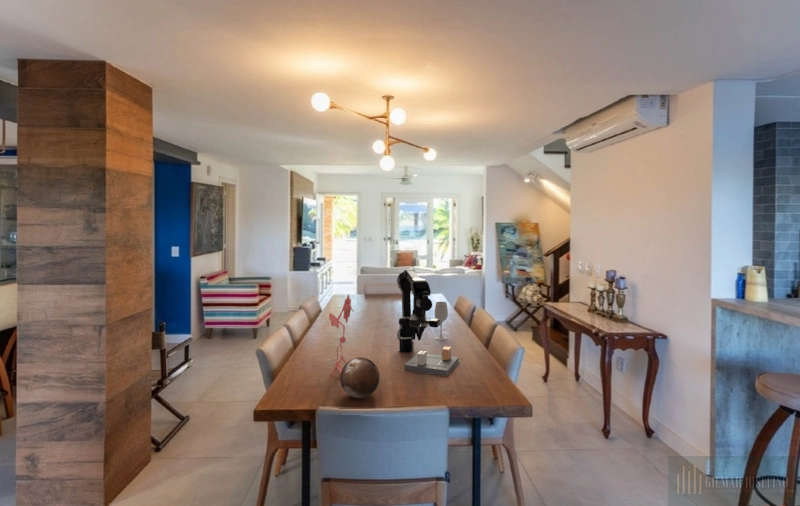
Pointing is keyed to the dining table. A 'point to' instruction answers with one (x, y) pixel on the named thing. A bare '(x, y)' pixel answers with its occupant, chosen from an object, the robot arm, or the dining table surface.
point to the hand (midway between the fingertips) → (419, 340)
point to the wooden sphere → (359, 377)
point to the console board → (432, 365)
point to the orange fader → (446, 353)
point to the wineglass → (441, 316)
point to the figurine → (336, 322)
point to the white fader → (421, 357)
